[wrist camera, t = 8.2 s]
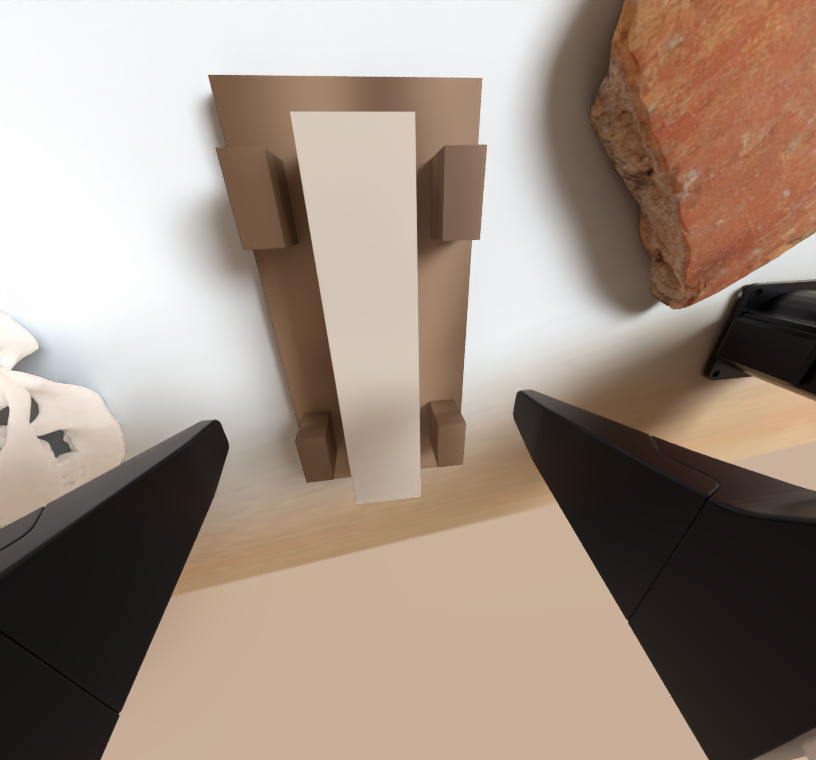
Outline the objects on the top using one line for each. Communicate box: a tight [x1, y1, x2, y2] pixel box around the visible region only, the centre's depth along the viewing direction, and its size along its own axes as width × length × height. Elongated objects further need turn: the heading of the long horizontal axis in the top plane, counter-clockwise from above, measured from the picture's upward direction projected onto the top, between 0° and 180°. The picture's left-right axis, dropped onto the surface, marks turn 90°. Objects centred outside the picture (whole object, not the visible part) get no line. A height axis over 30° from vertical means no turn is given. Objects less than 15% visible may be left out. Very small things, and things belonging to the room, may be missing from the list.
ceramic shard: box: [590, 0, 816, 310], centre depth 12 cm, size 15×6×15 cm
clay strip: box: [290, 112, 421, 505], centre depth 14 cm, size 4×16×4 cm, turn 2°
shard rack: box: [208, 75, 487, 483], centre depth 15 cm, size 10×20×4 cm, turn 2°
